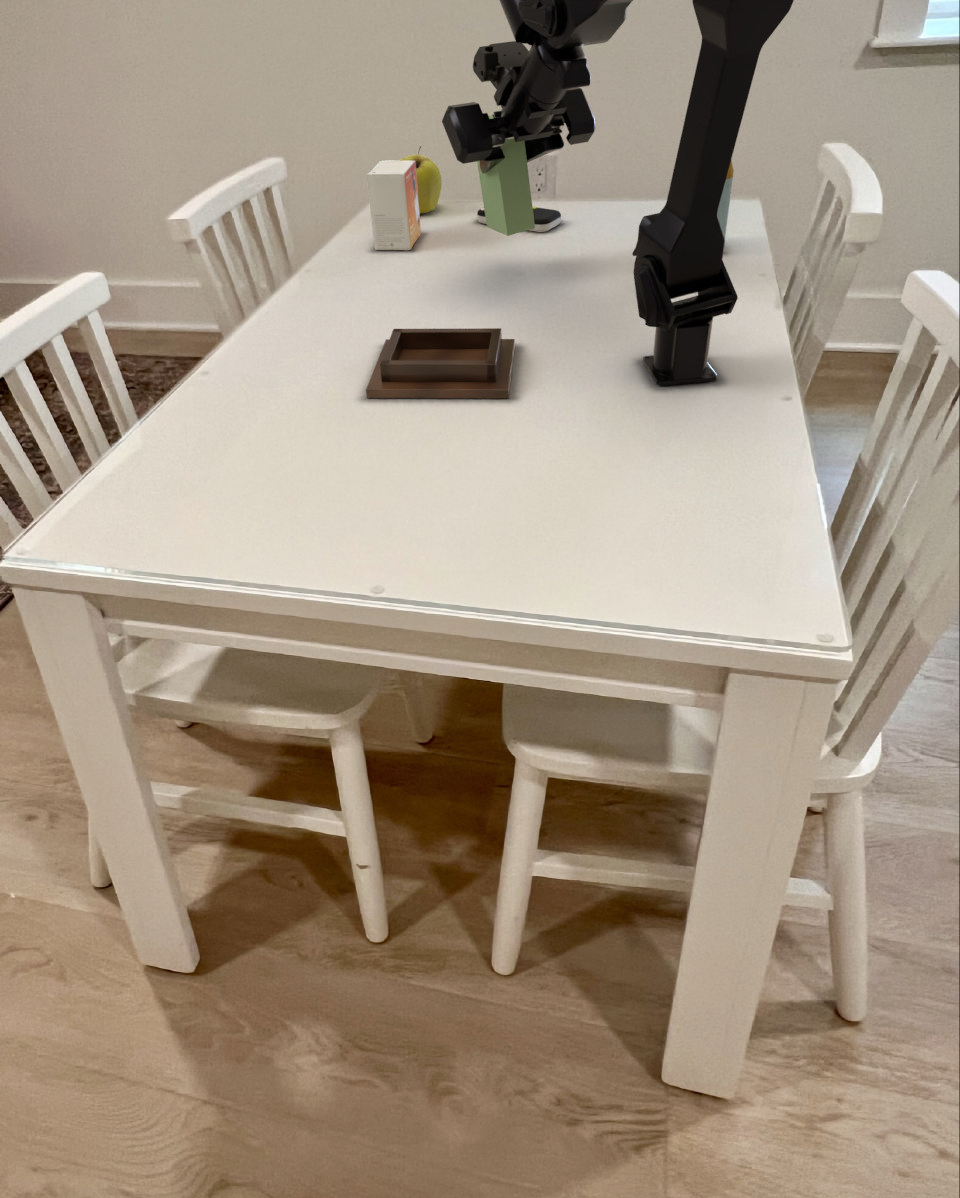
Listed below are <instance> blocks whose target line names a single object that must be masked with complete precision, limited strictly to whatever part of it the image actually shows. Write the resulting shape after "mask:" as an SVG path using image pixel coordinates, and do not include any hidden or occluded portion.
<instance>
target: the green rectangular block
mask: <svg viewBox="0 0 960 1198" xmlns="http://www.w3.org/2000/svg"><path fill="white" fill-rule="evenodd" d="M488 116H489V119H493V114H491V115H488ZM501 148H502V151H503V153H504V156H505V159H503V160H502V161H501V162H500V163H498V164H497V165H496V166H495V167H493V168H492V169H491V170H490V171H488V172H486V173H484V174H483V173H482V171H481V169H480V161H476V163H477V170H478V176H479V177H478V178H479V182H480V183H479V184H480V190H481V196H482V202H483V207H484V210H485V217H486V223H487V224H486V227H487V228H489V229H491V230H493V231H496V232H498V233H500V234H502V235H505V236H507V237H508V236H512V235H516V234H521V233H523V232H527V231H529V230H530V229H534V228H535V224H534V215H533V207H534V206H533V200H532V192H531V183H530V176H529V168H528V167H529V166H528V163H527V158H526V149H525V141H520V142H515V139H508V140H505V143H504V145H503V146H502V147H501Z"/></svg>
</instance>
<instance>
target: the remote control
mask: <svg viewBox="0 0 960 1198" xmlns="http://www.w3.org/2000/svg"><path fill="white" fill-rule="evenodd" d="M532 207H533V215H534V224H535V228H534V229H530V230H528V231H529V232H530V231H531V232H537V233H545V232H548V231H550V230H552V229H553V228H555V227H556V226H558V225H559V224H561V222H562V213H561V212H560V211H559V210H557V209H551V208H543V207H537V206H532ZM476 219H477V221H478V222H479V223H481V224H483V225H484V224H485V225H487V223H486V217H485V210H484V206H483V207H481V208H479V209H478V210H477V211H476Z"/></svg>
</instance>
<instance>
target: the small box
mask: <svg viewBox="0 0 960 1198" xmlns="http://www.w3.org/2000/svg"><path fill="white" fill-rule="evenodd" d="M365 176H366V183H367V184H366V185H367V192H368V203H369V210H370V220H371V229H372V236H373V237H372V238H373V245H374V250H375V251H411V250H412V248H413V246H414V245H415V244H416V242H417V240H418V239H419V238H420V237H421V235H422V228H421V215H420V214H421V213H419V200H418V186H417V173H416V161H412V160H400V159H399V160H398V159H397V160H395V159H394V160H379V161H378V163H376V165H375V166H374V167H373V168H372V169H371V170H370V171H369V172H368V173H366V175H365Z"/></svg>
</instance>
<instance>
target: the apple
mask: <svg viewBox="0 0 960 1198" xmlns="http://www.w3.org/2000/svg"><path fill="white" fill-rule="evenodd" d="M421 148H422V145H420V146H419V149H418V151H417V154H414V153H413V154H409V155H407V156H404V157H402V158H401V159H399V160H412V161H416V173H417V186H418V200H419V213H420V214H426V213H430V212H433V211H434V210H435V209H436V208H437V206H438V204H439V201H440V197H441V191H442V185H443V184H442V173H441V171H440V168H439V167H438V165H437V164H436V163H435V162H434V161H433V160H432V159H431V158H429V157H428V156H425V155H421V154H419V153H420V151H421Z"/></svg>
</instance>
